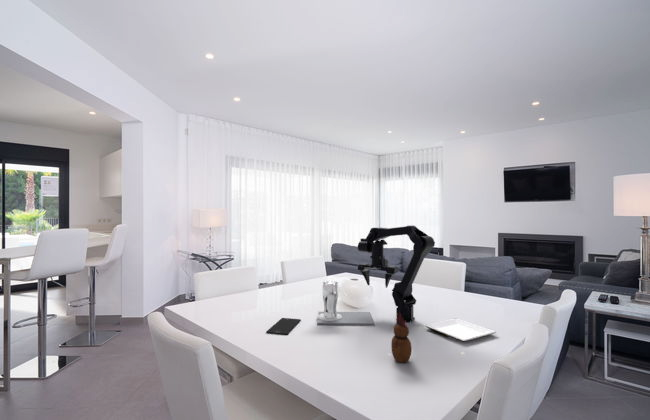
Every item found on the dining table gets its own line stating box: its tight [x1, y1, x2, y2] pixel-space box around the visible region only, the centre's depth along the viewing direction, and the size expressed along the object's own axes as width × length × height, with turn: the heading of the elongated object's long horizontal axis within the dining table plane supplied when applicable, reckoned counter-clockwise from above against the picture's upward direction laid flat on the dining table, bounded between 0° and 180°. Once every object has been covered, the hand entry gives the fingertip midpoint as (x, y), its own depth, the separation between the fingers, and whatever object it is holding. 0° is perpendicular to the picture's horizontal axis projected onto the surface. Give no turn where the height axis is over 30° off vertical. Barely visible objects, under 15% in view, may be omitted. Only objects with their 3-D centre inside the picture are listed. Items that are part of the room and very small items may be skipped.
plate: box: [424, 318, 497, 343], centre depth 125 cm, size 19×19×2 cm
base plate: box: [316, 311, 376, 326], centre depth 142 cm, size 24×16×1 cm, turn 89°
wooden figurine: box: [390, 311, 413, 364], centre depth 101 cm, size 7×6×15 cm
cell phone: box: [265, 317, 302, 336], centre depth 132 cm, size 9×18×1 cm, turn 167°
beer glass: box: [322, 280, 339, 319], centre depth 142 cm, size 7×7×15 cm
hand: (377, 286), depth 153 cm, fingers open, 9 cm apart
